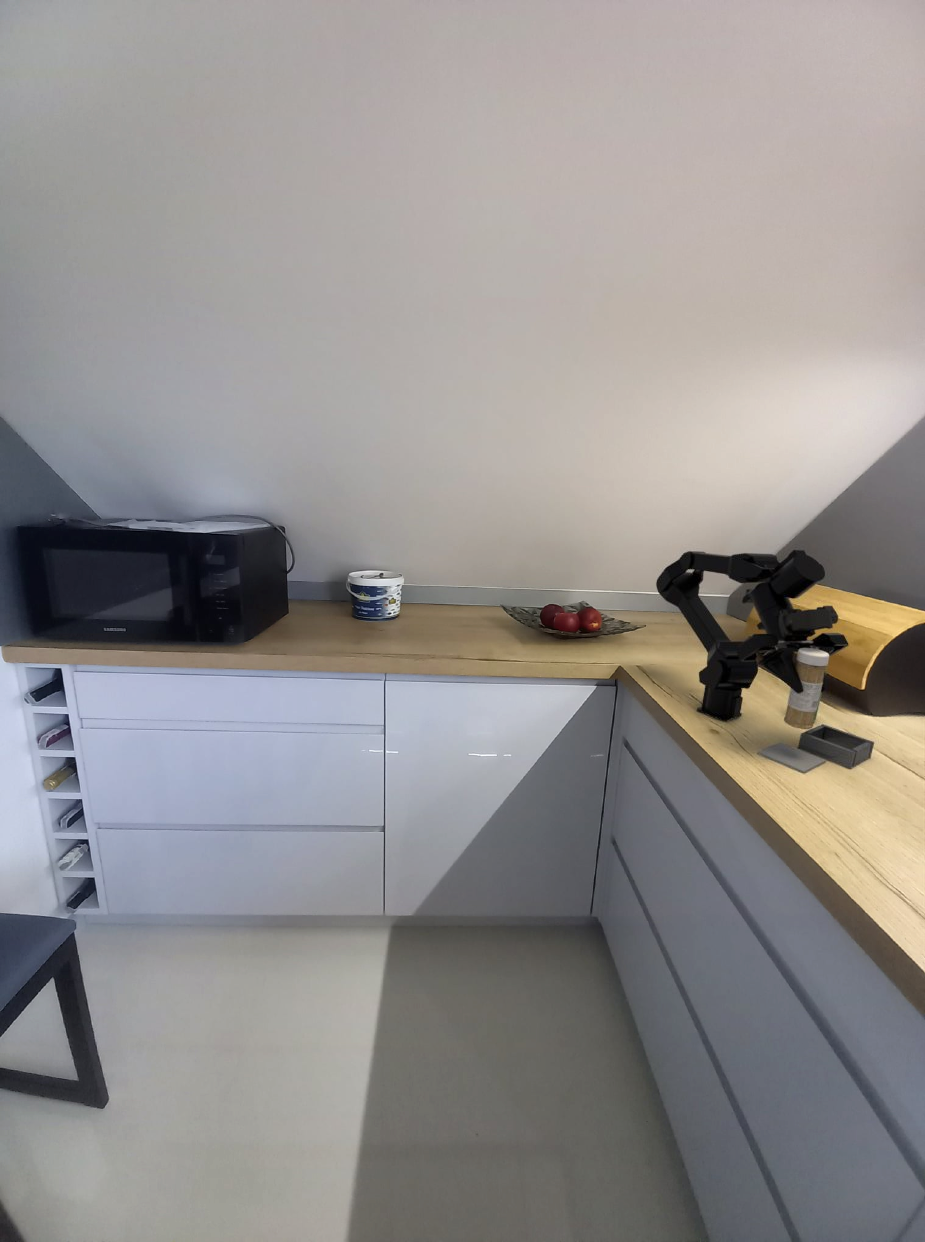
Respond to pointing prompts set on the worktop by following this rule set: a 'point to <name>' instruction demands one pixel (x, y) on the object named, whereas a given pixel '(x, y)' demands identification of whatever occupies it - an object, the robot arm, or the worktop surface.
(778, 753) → the rubber pad
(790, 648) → the robot arm
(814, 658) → the sprinkles bottle
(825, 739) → the grey open box
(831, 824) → the worktop surface
